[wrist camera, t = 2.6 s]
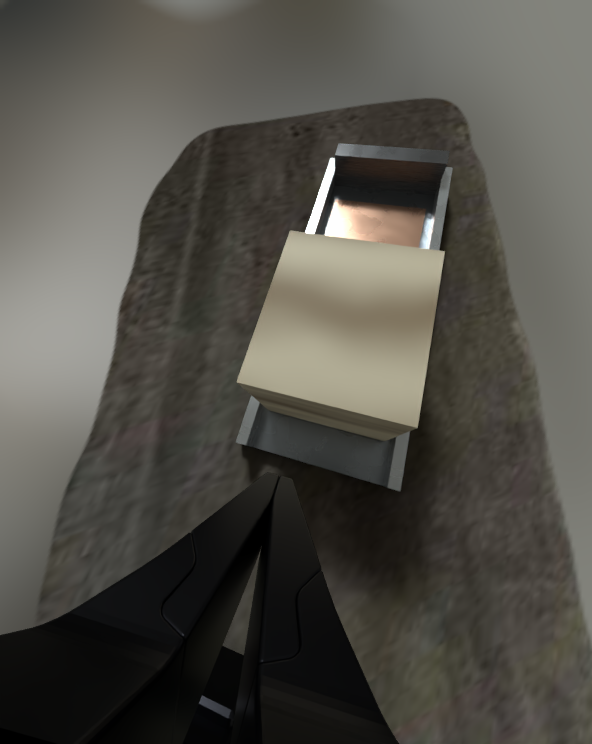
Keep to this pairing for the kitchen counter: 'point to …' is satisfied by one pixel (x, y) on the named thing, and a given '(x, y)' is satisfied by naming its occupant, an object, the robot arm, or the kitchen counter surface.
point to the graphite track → (376, 224)
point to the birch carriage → (346, 334)
